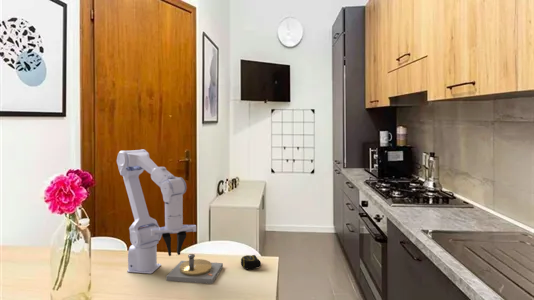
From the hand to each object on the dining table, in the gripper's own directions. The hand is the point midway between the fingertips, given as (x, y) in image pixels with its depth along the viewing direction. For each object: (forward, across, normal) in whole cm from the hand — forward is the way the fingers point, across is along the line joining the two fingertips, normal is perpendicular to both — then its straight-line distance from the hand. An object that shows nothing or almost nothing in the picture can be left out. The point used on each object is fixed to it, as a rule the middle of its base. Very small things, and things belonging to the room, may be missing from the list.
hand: (174, 254), depth 120 cm
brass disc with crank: (+8, +8, +4) cm, 12 cm away
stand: (+9, +8, +4) cm, 13 cm away
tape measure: (+10, +29, +3) cm, 30 cm away
